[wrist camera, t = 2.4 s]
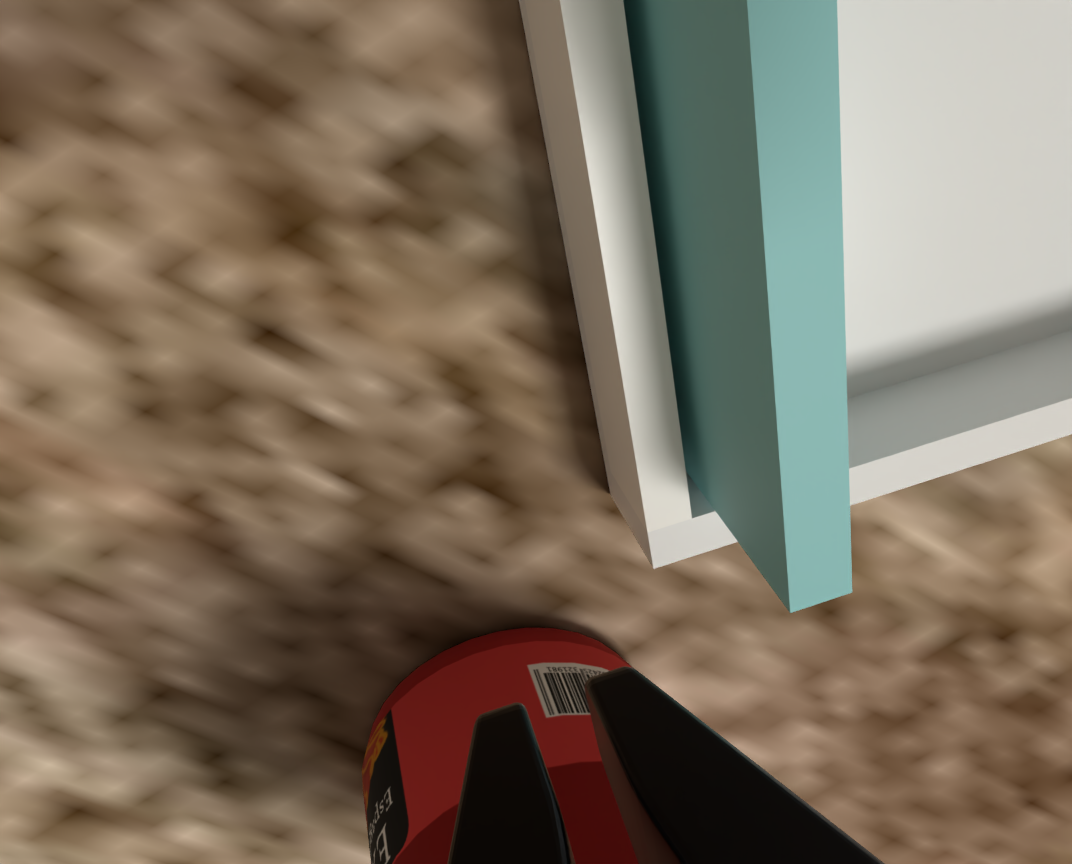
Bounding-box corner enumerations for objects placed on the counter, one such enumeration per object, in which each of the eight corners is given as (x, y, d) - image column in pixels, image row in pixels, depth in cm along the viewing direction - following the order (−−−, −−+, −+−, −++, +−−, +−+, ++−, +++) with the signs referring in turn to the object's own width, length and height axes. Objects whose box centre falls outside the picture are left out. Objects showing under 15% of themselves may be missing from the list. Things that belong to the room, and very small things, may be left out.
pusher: (648, -193, 16) (831, -229, 11) (717, 433, 23) (851, 592, 17) (580, -177, 16) (732, -207, 11) (669, 448, 22) (790, 613, 17)
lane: (1374, -444, 18) (1562, -500, 15) (1224, 303, 25) (1332, 350, 23) (471, -251, 16) (514, -276, 13) (610, 495, 23) (653, 568, 21)
